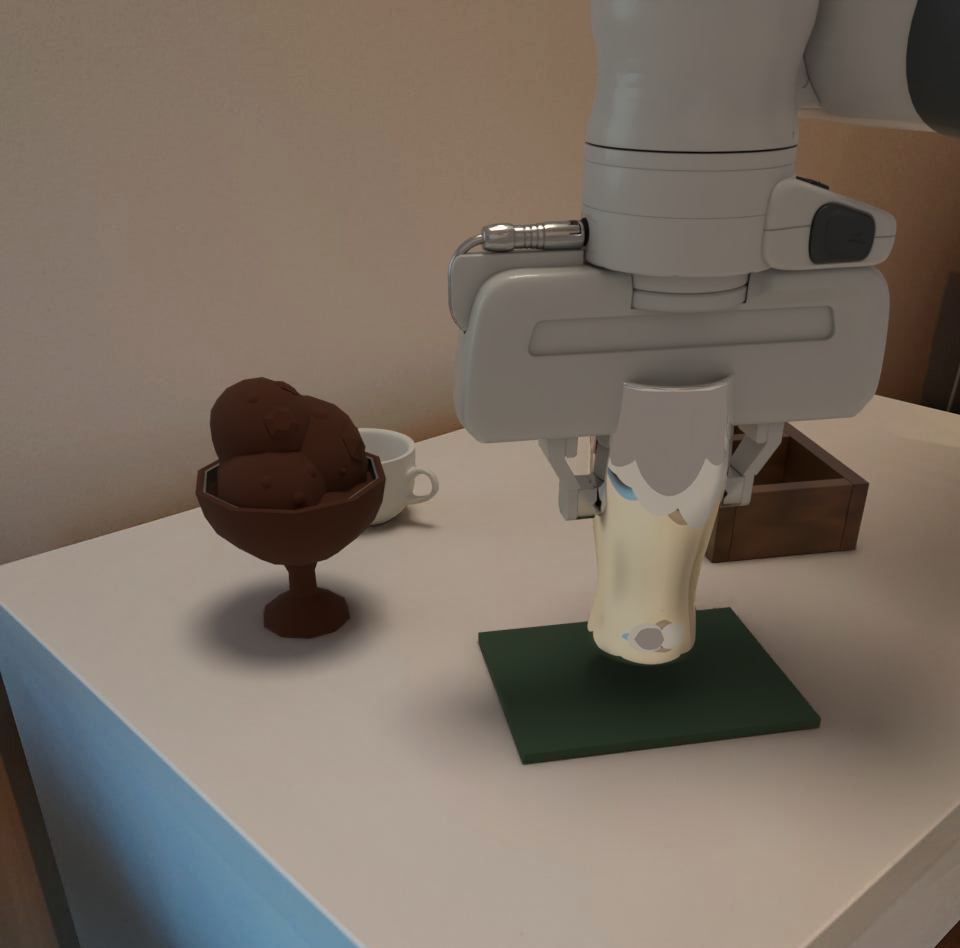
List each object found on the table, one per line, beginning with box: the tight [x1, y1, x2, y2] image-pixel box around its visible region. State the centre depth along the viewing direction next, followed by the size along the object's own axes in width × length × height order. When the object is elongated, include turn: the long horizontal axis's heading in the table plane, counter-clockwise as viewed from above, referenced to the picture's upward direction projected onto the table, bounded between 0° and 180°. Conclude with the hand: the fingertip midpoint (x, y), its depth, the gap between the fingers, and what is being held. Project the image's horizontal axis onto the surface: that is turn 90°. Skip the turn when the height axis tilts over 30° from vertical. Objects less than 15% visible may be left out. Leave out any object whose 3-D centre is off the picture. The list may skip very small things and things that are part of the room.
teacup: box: [357, 427, 440, 526], centre depth 74 cm, size 10×8×5 cm
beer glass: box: [586, 374, 736, 667], centre depth 51 cm, size 7×7×15 cm
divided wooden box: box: [705, 422, 870, 563], centre depth 76 cm, size 11×20×5 cm, turn 11°
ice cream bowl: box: [194, 376, 386, 639], centre depth 59 cm, size 11×11×15 cm
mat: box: [477, 606, 822, 764], centre depth 56 cm, size 16×12×1 cm
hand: (654, 508), depth 51 cm, fingers closed on beer glass, 7 cm apart
